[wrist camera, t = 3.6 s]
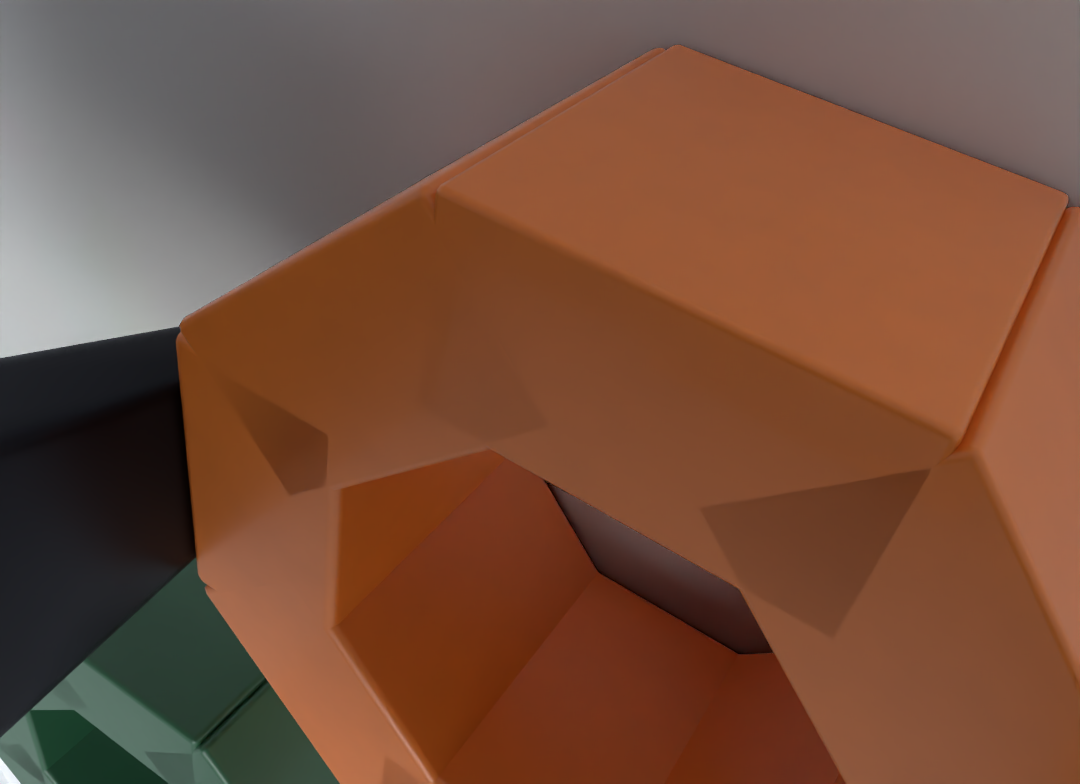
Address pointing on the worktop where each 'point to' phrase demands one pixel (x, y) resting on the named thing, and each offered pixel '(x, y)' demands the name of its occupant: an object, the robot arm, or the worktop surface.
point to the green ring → (165, 708)
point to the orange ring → (661, 452)
